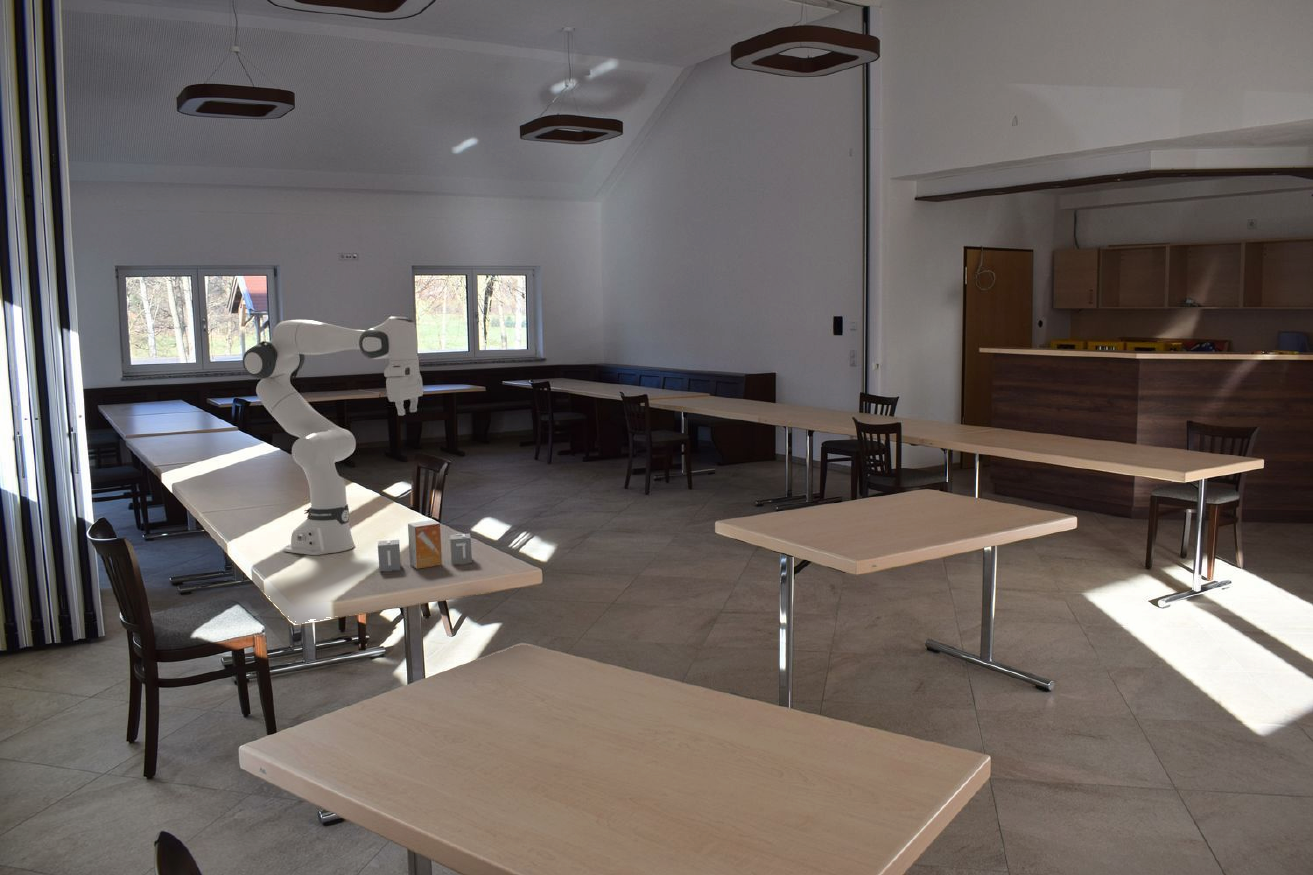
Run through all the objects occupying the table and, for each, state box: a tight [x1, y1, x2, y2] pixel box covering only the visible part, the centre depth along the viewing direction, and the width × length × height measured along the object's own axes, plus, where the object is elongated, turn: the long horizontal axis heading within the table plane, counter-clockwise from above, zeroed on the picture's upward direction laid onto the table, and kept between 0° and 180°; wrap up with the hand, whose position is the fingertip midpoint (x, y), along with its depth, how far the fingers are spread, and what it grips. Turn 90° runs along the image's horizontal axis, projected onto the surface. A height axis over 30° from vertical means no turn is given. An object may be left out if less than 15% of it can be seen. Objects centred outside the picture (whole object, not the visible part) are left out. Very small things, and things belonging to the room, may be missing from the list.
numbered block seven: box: [449, 533, 473, 565], centre depth 296 cm, size 6×6×8 cm
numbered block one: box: [377, 539, 402, 573], centre depth 291 cm, size 6×6×8 cm
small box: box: [407, 519, 443, 570], centre depth 294 cm, size 8×6×13 cm
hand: (407, 413), depth 302 cm, fingers open, 8 cm apart
